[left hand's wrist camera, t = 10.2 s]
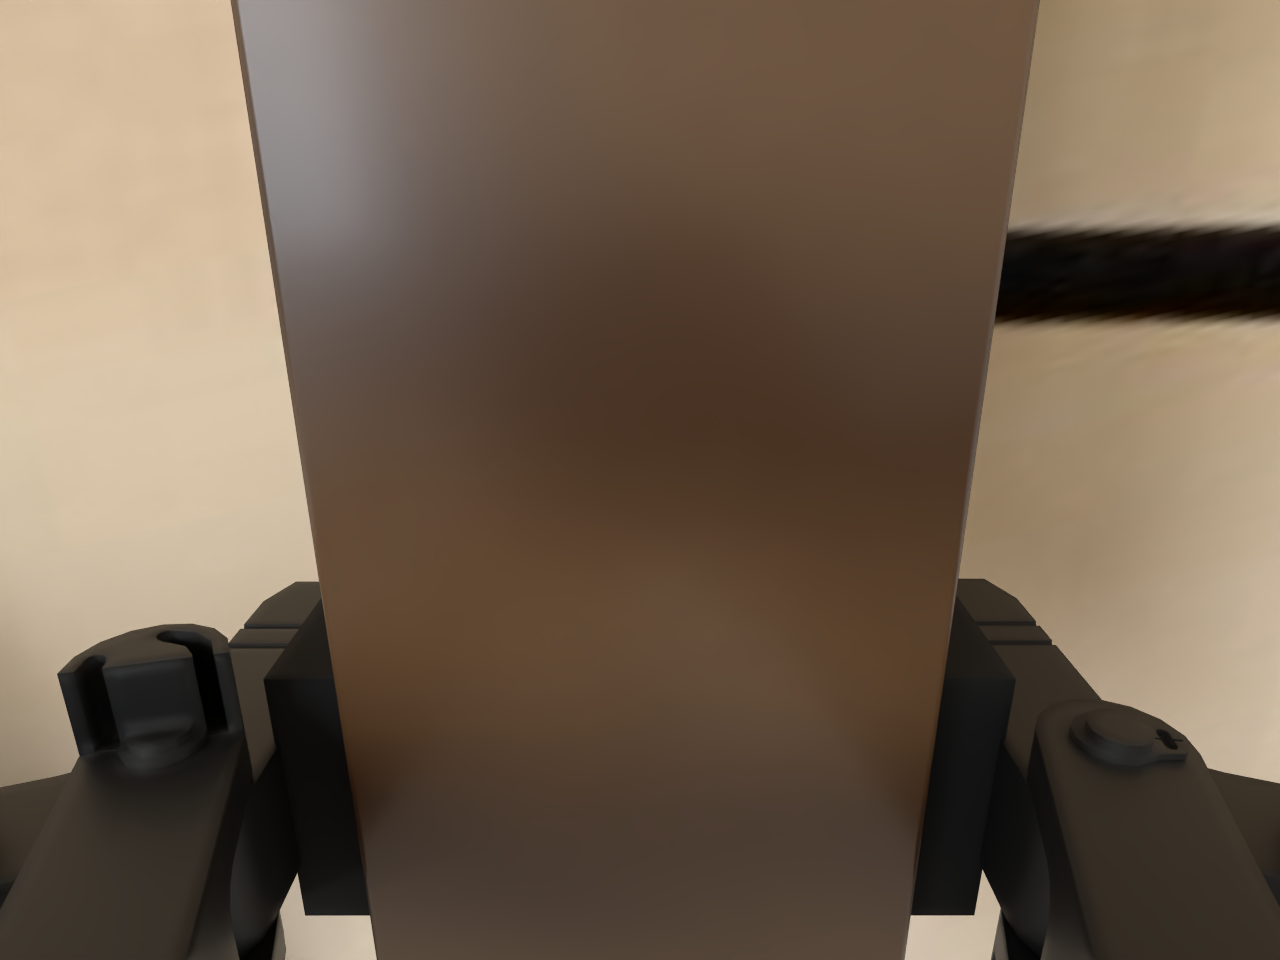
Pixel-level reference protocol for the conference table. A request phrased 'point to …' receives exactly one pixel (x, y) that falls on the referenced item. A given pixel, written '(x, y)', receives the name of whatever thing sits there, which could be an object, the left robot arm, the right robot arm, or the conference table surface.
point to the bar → (637, 446)
